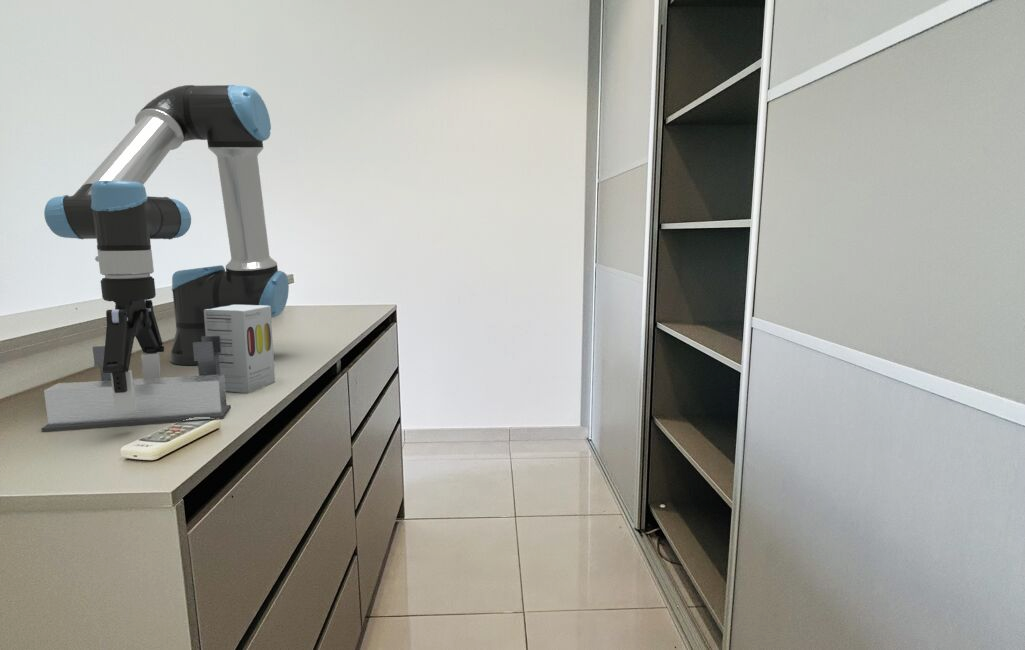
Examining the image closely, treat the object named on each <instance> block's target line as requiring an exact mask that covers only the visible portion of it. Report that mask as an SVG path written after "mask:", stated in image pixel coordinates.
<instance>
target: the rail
mask: <svg viewBox="0 0 1025 650" xmlns="http://www.w3.org/2000/svg"><path fill="white" fill-rule="evenodd" d="M132 379H133V378H132ZM133 389H134V398H135V408H136V409H135V410H134V411H122V412H115V408H114V399H113V390H112V381H102V380H95V381H94V380H93V381H79V382H75V381H74V382H59V383H56V384H54V385H52V386H50V387H48V388H46V389H44V390H43V394H44V402H45V408H46V415H47V424H48V425H49V426H51V425H66V424H80V423H94V422H109V421H123V420H138V419H152V418H166V417H181V416H195V415H209V414H221V413H222V412H223V411H224V409H225V408H226V406H227V405H228V404H227V394H226V393H227V391H226V390H225V378H224V374H222V375H203V376H199V375H188V376H186V375H185V376H169V377H161V378H148V379H143V378H135V379H133Z"/></svg>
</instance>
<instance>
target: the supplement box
mask: <svg viewBox="0 0 1025 650" xmlns="http://www.w3.org/2000/svg"><path fill="white" fill-rule="evenodd" d="M204 320H205V333H206V336H220V342H221V354H219V365H220V375H222V374H224V378H225V390H226V392H233V393H244V394H249V393H251V392H254V391H256V390H259V389H261V388H263V387H266V386H268V385H271V384H273V383H275V382H276V379H275V378H276V375H275V360H274V358H275V357H274V356H275V355H274V348H273V347H274V343H273V341H274V340H273V325H272V318H271V306H266V305H230V306H224V307H218V308H212V309H205V310H204Z"/></svg>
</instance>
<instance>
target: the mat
mask: <svg viewBox="0 0 1025 650" xmlns="http://www.w3.org/2000/svg"><path fill="white" fill-rule="evenodd" d="M231 407H232V406H231V404H227V406H226V408H225V409H224V411H223V412H222V413H221V414H209V415H195V416H181V417H166V418H152V419H138V420H123V421H109V422H94V423H80V424H66V425H51V426H49V425H48V423H47V424H46V425H44V426H43V427H41V432H42V433H43V432H44V433H46V432H57V431H58V432H59V431H69V430H70V431H71V430H85V429H99V428H100V429H102V428H112V427H113V428H114V427H124V426H125V427H127V426H140V425H154V424H155V425H157V424H169V423H180V422H179V421H183V420H186V419H189V418H194V417H210V418H219V419H218V420H223V419H224V418H225V417H226V416H227V414H228V412H229V411H230V410H231Z"/></svg>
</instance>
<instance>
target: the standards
mask: <svg viewBox="0 0 1025 650" xmlns="http://www.w3.org/2000/svg"><path fill="white" fill-rule="evenodd" d="M201 340H202V342H193V351H194V361H198V365H197V366H198V367H197V369H198V370H197V371H198V376H203V375H220V365H219V354H221V342H220V336H202V337H201ZM104 351H105V345H96V346H95V345H94V346H92V354H93V363H94V366H95V367H99V370H100V377H101V381H111V373H103V362H104Z"/></svg>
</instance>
